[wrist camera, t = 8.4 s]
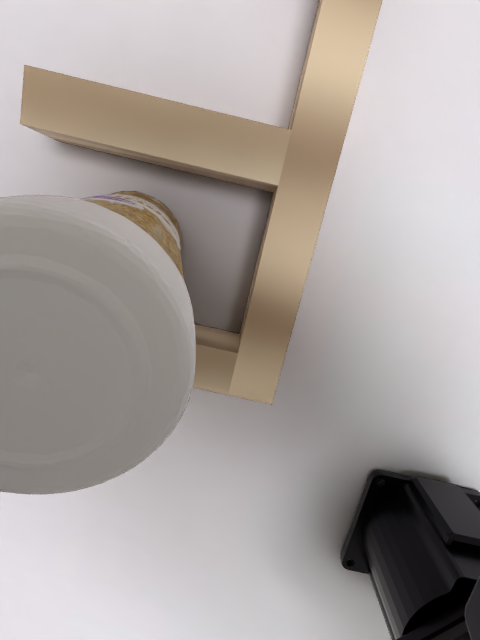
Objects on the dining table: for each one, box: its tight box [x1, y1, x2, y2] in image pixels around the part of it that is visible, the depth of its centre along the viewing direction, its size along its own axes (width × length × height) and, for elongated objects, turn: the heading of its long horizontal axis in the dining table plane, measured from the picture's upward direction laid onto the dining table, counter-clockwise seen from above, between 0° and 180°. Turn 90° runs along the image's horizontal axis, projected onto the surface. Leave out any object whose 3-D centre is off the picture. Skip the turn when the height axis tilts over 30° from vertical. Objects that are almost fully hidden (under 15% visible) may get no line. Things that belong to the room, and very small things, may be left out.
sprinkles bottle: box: [0, 191, 196, 494], centre depth 11 cm, size 5×5×13 cm
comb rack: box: [20, 0, 382, 405], centre depth 15 cm, size 20×12×3 cm, turn 167°
